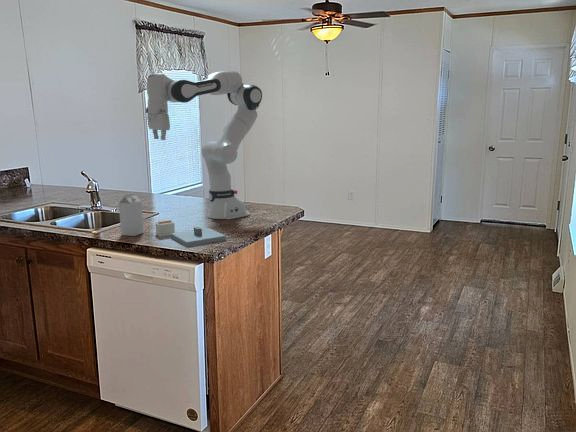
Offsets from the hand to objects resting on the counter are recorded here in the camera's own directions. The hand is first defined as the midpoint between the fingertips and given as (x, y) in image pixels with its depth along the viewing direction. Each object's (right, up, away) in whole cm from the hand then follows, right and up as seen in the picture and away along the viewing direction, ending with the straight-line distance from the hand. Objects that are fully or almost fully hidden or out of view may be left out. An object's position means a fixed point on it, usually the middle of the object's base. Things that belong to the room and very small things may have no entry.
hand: (159, 139), depth 238 cm
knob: (+4, -44, -7) cm, 45 cm away
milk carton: (-11, -44, -5) cm, 46 cm away
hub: (+21, -46, -15) cm, 53 cm away
